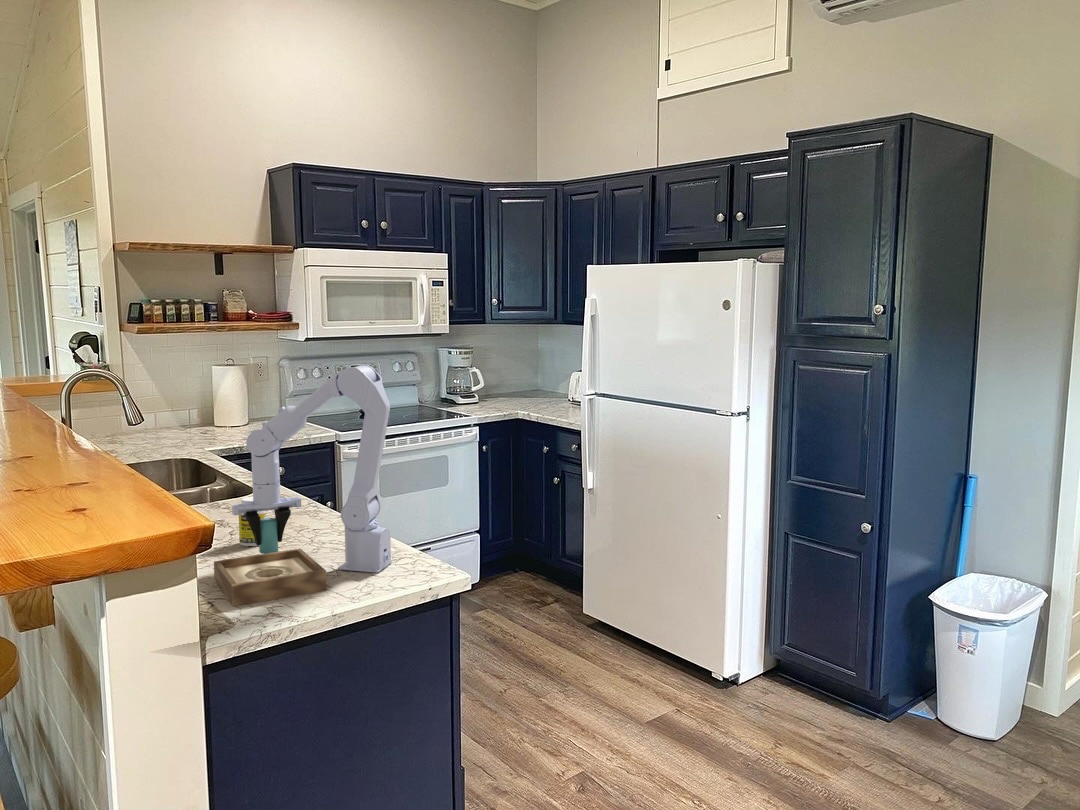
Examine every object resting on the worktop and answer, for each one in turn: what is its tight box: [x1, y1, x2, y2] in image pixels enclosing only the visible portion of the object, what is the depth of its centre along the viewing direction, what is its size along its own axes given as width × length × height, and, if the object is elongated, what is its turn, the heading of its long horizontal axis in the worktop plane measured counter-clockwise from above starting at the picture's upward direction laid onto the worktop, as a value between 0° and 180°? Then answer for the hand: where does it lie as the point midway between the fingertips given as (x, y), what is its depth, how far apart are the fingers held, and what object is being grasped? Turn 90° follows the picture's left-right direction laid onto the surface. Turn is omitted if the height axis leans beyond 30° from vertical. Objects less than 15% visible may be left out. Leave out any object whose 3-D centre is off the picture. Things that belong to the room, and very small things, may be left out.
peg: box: [258, 517, 279, 554], centre depth 182 cm, size 4×4×7 cm
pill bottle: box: [238, 496, 267, 547], centre depth 197 cm, size 6×6×11 cm
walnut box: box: [213, 548, 328, 607], centre depth 168 cm, size 18×18×4 cm
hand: (268, 542), depth 182 cm, fingers closed on peg, 4 cm apart
